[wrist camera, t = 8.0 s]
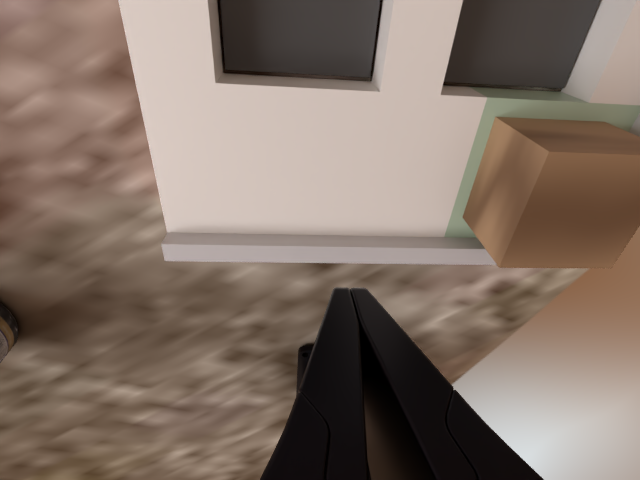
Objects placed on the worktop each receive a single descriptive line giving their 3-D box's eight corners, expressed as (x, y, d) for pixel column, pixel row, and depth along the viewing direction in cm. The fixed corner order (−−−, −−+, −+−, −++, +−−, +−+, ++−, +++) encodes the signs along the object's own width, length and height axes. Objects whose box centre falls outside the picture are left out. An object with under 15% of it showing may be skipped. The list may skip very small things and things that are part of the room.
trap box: (557, 234, 22) (590, 266, 19) (180, 227, 20) (165, 260, 18) (775, -185, 12) (896, -228, 10) (88, -275, 10) (24, -355, 8)
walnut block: (555, 219, 19) (611, 268, 16) (462, 217, 18) (498, 267, 15) (604, 121, 16) (684, 156, 13) (495, 116, 16) (549, 151, 12)
